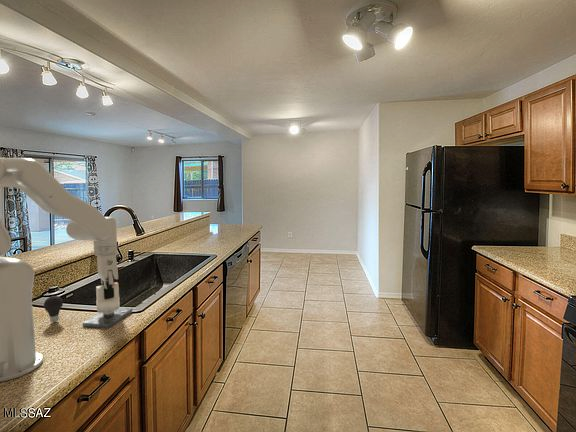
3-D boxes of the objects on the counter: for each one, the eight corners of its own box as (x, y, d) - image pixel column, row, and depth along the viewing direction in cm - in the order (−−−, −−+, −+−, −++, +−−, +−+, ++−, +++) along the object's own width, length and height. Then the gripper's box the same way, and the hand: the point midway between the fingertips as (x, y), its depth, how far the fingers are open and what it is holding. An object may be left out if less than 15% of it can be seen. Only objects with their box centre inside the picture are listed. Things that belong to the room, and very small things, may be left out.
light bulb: (67, 319, 115) (66, 294, 114) (55, 326, 109) (53, 299, 108) (54, 318, 115) (52, 293, 114) (40, 325, 110) (39, 298, 109)
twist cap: (98, 314, 110) (97, 289, 109) (95, 307, 116) (94, 284, 115) (121, 309, 115) (120, 285, 114) (117, 302, 121) (116, 280, 120)
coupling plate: (108, 328, 108) (108, 317, 108) (82, 326, 109) (82, 316, 109) (132, 312, 122) (131, 302, 122) (109, 310, 123) (108, 301, 123)
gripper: (123, 252, 110) (125, 300, 112) (111, 245, 121) (113, 289, 123) (99, 255, 104) (101, 306, 106) (89, 247, 116) (91, 293, 118)
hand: (107, 296), depth 115 cm, fingers closed on twist cap, 3 cm apart
